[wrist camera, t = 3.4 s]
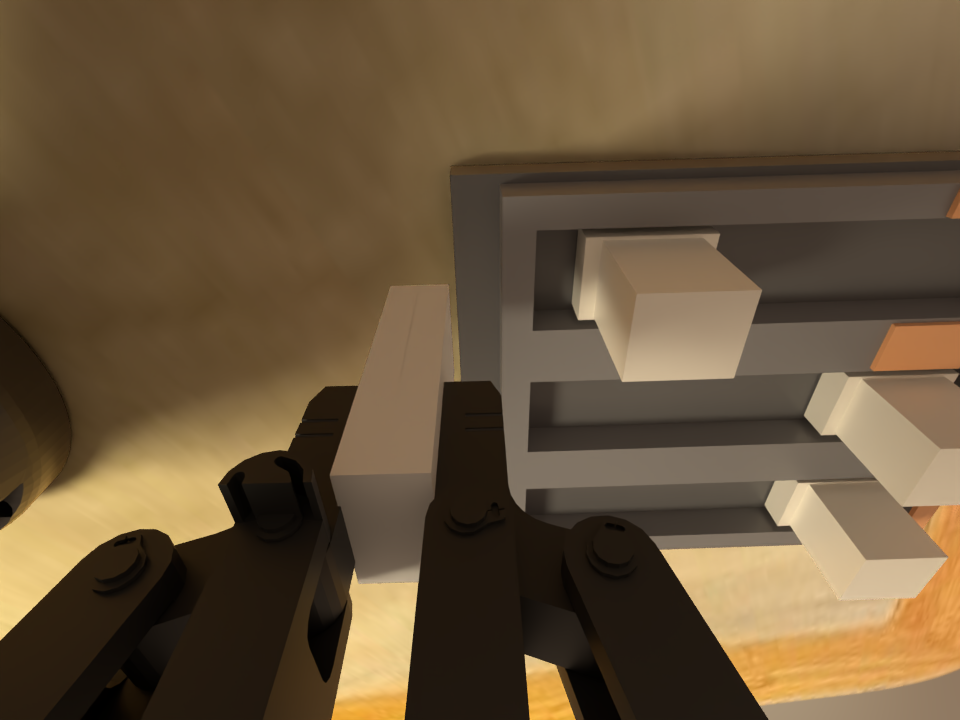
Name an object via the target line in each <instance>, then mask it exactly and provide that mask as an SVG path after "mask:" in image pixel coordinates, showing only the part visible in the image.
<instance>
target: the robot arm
mask: <svg viewBox="0 0 960 720" xmlns="http://www.w3.org/2000/svg"><path fill="white" fill-rule="evenodd" d="M295 435H296V436H295V438H293V440H292V443H291V445H290V447H289V450H288V451H281V450H278V451H272V452H266V453H261V454H259V455H256V456H254V457H251V458H249V459H246V460H244V461H243V462H241V463H240V464H238V465H237V466H235V467H234V468H233V469H231V470H230V471H228V473H227V474H226V475H225V476H224V478H223V479H222V480H221V481H220V483H219V484H218V486H219V488H220V490H221V493H222V495H223V497H224V499H225V501H226V504H227V506H228V508H229V510H230V512H231V515H232V517H233V519H234V521H235V524H234V526H233V527H232V528H230V529H227V530H224V531H222V532H219V533H216V534H213V535H209V536H206V537H203V538H199V539H196V540H192V541H189V542H185V543H182V544H178V545H175V546H174V544H173V543H172V541H171V539H170V537H169V536H168V535H167V534H165V533H163V532H161V531H158V530H156V529H139V530H135V531H132V532H128V533H124V534H121V535H118V536H117V537H115V538H113V539H111V540H109V541H107V542H105V543H103V544H101V545H99V546H98V547H97V548H96V549H94V550H93V551H92V552H91V553H89V554H88V555H87V556H86V557H85V558H83V559H82V560H81V561H80V562H79V563H78V564H77V565H76V566H75V567H74V568H73V569H72V570H71V571H70V572H69V573H68V574H67V575H66V576H65V577H64V578H63V579H62V580H61V581H60V582H59V583H58V584H57V585H56V586H55V587H54V588H53V589H52V590H51V591H50V592H49V593H48V594H47V595H46V596H45V597H44V598H43V599H42V600H41V601H40V602H39V603H38V604H37V605H36V606H35V607H34V608H33V609H32V610H31V611H30V612H29V613H28V614H27V615H26V616H25V617H24V618H23V619H22V620H21V621H20V622H19V623H18V624H17V625H16V626H15V627H14V628H13V629H12V630H11V631H10V632H9V633H8V634H7V635H6V636H5V637H4V638H3V639H2V640H1V641H0V720H331V718H332V713H333V708H334V704H335V699H336V694H337V689H338V684H339V679H340V674H341V669H342V664H343V659H344V654H345V649H346V644H347V639H348V635H349V630H350V625H351V620H352V601H351V598H350V594H349V589H350V584H351V580H352V575H353V571H354V568H355V572H356V575H357V579H358V583H359V584H366V583H405V582H419V583H418V593H417V603H416V612H415V622H414V632H413V642H412V652H411V662H410V672H409V682H408V692H407V702H406V712H405V720H530V718H529V706H528V694H527V681H526V669H525V656H524V654H526V655H529V656H532V657H535V658H537V659H540V660H543V661H546V662H549V663H552V664H555V665H556V666H557V669H558V672H559V674H560V677H561V680H562V683H563V685H564V688H565V691H566V694H567V696H568V699H569V702H570V705H571V708H572V710H573V713H574V716H575V719H576V720H768V718H767V717H766V715H765V714H764V712H763V711H762V709H761V707H760V706H759V704H758V703H757V701H756V700H755V698H754V696H753V695H752V693H751V692H750V690H749V689H748V687H747V686H746V684H745V682H744V681H743V679H742V678H741V676H740V675H739V673H738V672H737V670H736V668H735V667H734V665H733V664H732V662H731V661H730V659H729V658H728V656H727V654H726V653H725V651H724V650H723V648H722V647H721V645H720V643H719V642H718V640H717V639H716V637H715V636H714V634H713V633H712V631H711V629H710V628H709V626H708V625H707V623H706V622H705V620H704V619H703V617H702V615H701V614H700V612H699V611H698V609H697V608H696V606H695V605H694V603H693V601H692V600H691V598H690V597H689V595H688V594H687V592H686V591H685V589H684V587H683V586H682V584H681V583H680V581H679V580H678V578H677V577H676V575H675V573H674V572H673V570H672V569H671V567H670V566H669V564H668V563H667V561H666V559H665V558H664V556H663V555H662V553H661V552H660V550H659V549H658V547H657V545H656V544H655V543H654V541H653V540H652V539H651V538H650V537H649V536H648V535H647V534H646V533H645V532H644V530H643V529H641V528H639V527H638V526H636V525H634V524H633V523H631V522H629V521H627V520H625V519H621V518H617V517H613V516H609V515H605V516H591V517H589V518H586V519H584V520H582V521H579V522H577V523H576V524H575V525H574V526H573V528H572V529H568V528H564V527H560V526H556V525H552V524H549V523H546V522H543V521H540V520H538V519H535V518H533V517H532V516H530V515H529V514H527V513H525V512H524V511H523V510H522V509H521V508H520V507H519V506H518V505H517V504H516V502H515V501H514V499H513V497H512V496H511V493H510V489H509V485H508V473H507V460H506V447H505V435H504V422H503V410H502V397H501V394H500V393H499V391H498V390H497V389H496V387H495V386H494V385H493V383H492V382H491V381H459V382H454V360H453V344H452V328H451V313H450V297H449V284H435V285H398V286H390V289H389V292H388V296H387V299H386V302H385V305H384V308H383V311H382V314H381V317H380V320H379V323H378V327H377V330H376V333H375V336H374V339H373V342H372V345H371V348H370V351H369V355H368V358H367V361H366V364H365V367H364V370H363V373H362V376H361V379H360V382H359V386H330V387H325V388H324V389H323V390H322V391H321V392H320V393H318V394H317V395H316V396H315V397H314V398H313V399H312V400H311V401H310V402H309V404H308V406H307V409H306V411H305V413H304V415H303V418H302V423H300V425H299V427H298V429H297V431H296V434H295ZM70 443H71V431H70V423H69V418H68V414H67V411H66V408H65V405H64V402H63V400H62V397H61V395H60V393H59V391H58V389H57V387H56V385H55V383H54V382H53V380H52V378H51V376H50V375H49V373H48V372H47V370H46V369H45V367H44V366H43V364H42V363H41V362H40V360H39V359H38V358H37V356H36V355H35V354H34V352H33V351H32V350H31V349H30V348H29V347H28V345H27V344H26V343H25V342H24V341H23V340H22V339H21V338H20V336H19V335H18V334H17V333H16V332H15V331H14V330H13V329H12V328H11V327H10V326H9V325H8V324H7V323H6V322H5V321H4V320H3V319H1V318H0V530H1V529H3V528H5V527H6V526H7V525H9V524H10V523H12V522H13V521H14V520H15V519H17V518H18V517H19V516H20V515H21V514H23V513H24V512H25V511H26V510H27V508H28V507H29V506H30V505H31V504H32V503H33V502H34V501H35V500H36V499H37V498H38V497H39V495H40V494H41V493H42V492H43V491H44V490H45V489H46V488H47V487H48V486H49V485H50V484H51V482H52V481H53V480H54V479H55V478H56V477H57V476H58V475H59V473H60V472H61V470H62V469H63V467H64V465H65V463H66V461H67V458H68V455H69V450H70Z"/></svg>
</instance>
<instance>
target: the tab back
mask: <svg viewBox="0 0 960 720" xmlns="http://www.w3.org/2000/svg"><path fill="white" fill-rule="evenodd" d="M765 507H766V508H767V510H768V511H769V513H770V515H771V516H772V518H773V519H774V521H775V523H776V524H777V526H791V528H792V529H793V531H794V532H795V534H796V535H797V537H798V538H799V540H800V541H801V543H802V545H803V546H804V548H805V549H806V551H807V552H808V554H809V555H810V557H811V558H812V560H813V561H814V563H815V564H816V566H817V568H818V569H819V571H820V572H821V574H822V575H823V577H824V578H825V580H826V581H827V583H828V584H829V586H830V588H831V589H832V591H833V592H834V594H835V595H836V597H837V598H838V600H868V599H897V598H915V597H916V596H917V595H918V594H919V593H920V591H921V590H922V589H923V588H924V587H925V585H926V584H927V583H928V582H929V580H930V579H931V578H932V577H933V576H934V574H935V573H936V572H937V571H938V569H939V568H940V567H941V566H942V565H943V563H944V562H945V561H946V560H947V558H948V556H947V555H946V554H945V553H944V552H943V551H942V550H941V549H940V548H939V547H938V545H937V544H936V543H935V542H934V541H933V540H932V539H931V538H930V537H929V536H928V534H927V533H926V532H925V531H924V530H923V529H922V528H921V527H920V526H919V525H918V523H917V522H916V521H915V520H914V519H913V518H912V517H911V516H910V515H909V514H908V513H907V511H906V510H905V509H904V508H903V507H902V506H901V505H900V504H899V503H898V502H897V501H896V500H895V499H894V498H893V496H892V495H891V494H890V493H889V492H888V491H887V490H886V489H885V488H884V487H883V485H882V484H881V483H880V482H879V481H878V480H877V479H876V478H846V479H815V480H785V481H775V482H774V484H773V486H772V489H771V491H770V493H769V496H768V498H767V500H766V502H765Z"/></svg>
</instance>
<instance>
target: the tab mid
mask: <svg viewBox="0 0 960 720" xmlns="http://www.w3.org/2000/svg"><path fill="white" fill-rule="evenodd" d="M958 375H959V373H958V372H956V371H955V370H953V369H931V370H899V371H868V372H836V373H822V375H821V377H820V380H819V382H818V384H817V386H816V389H815V391H814V393H813V396H812V398H811V400H810V402H809V405H808V407H807V409H806V411H805V414H804V416H805V417H806V419H807V420H808V421H809V422H810V423H811V424H812V425H813V427H814V428H815V429H816V430H817V431H818V432H819V433H820V435H837V436H838V437H839V438H840V439H841V440H842V441H843V443H844V444H845V445H846V446H847V447H848V448H849V449H850V450H851V451H852V452H853V454H854V455H855V456H856V457H857V458H858V459H859V460H860V461H861V462H862V463H863V465H864V466H865V467H866V468H867V469H868V470H869V471H870V472H871V473H872V474H873V476H874V477H875V478H876V479H877V480H878V481H879V482H880V483H881V484H882V485H883V487H884V488H885V489H886V490H887V491H888V492H889V493H890V494H891V495H892V496H893V498H894V499H895V500H896V501H897V502H898V503H899V504H900V505H901V506H902V507H910V506H940V505H960V387H958V386H957V385H955V384H954V381H955V380H956V378H957V377H958Z"/></svg>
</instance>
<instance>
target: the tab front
mask: <svg viewBox="0 0 960 720" xmlns="http://www.w3.org/2000/svg"><path fill="white" fill-rule="evenodd" d="M719 236H720V233H719V232H718V231H716V230H715V229H714V228H713V227H711V226H710V225H703V226H670V227H637V228H604V229H578V237H577V249H576V260H575V271H574V283H573V294H572V306H573V308H574V311H575V313H576V316H577V319H578V320H595V321H596V324H597V326H598V328H599V331H600V333H601V335H602V337H603V340H604V342H605V344H606V346H607V349H608V351H609V353H610V356H611V358H612V360H613V362H614V365H615V367H616V369H617V371H618V374H619V376H620V378H621V381H622V382H636V381H667V380H699V379H730V378H734V376H735V373H736V370H737V367H738V364H739V361H740V358H741V355H742V352H743V348H744V345H745V342H746V339H747V336H748V333H749V330H750V327H751V324H752V320H753V317H754V314H755V311H756V308H757V305H758V302H759V299H760V295H761V292H762V289H760V288H759V287H758V286H757V285H756V284H755V283H754V282H753V281H751V280H750V279H749V278H748V277H747V276H746V275H745V274H743V273H742V272H741V271H740V270H739V269H738V268H737V267H736V266H734V265H733V264H732V263H731V262H730V261H729V260H728V259H727V258H725V257H724V256H723V255H722V254H721V253H720V252H719V251H717V250H716V248H717V244H718V240H719Z"/></svg>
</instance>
